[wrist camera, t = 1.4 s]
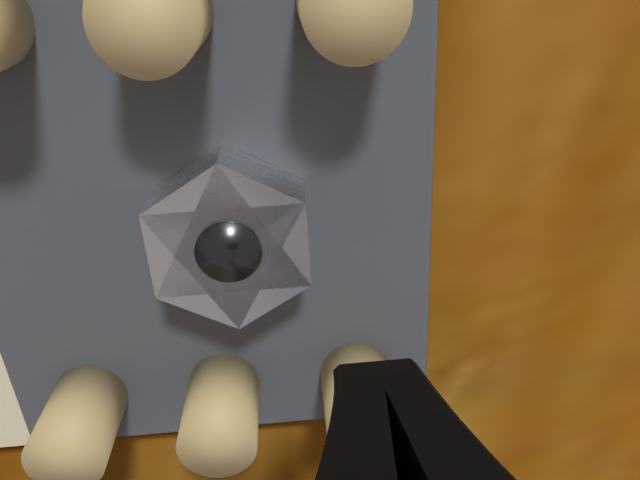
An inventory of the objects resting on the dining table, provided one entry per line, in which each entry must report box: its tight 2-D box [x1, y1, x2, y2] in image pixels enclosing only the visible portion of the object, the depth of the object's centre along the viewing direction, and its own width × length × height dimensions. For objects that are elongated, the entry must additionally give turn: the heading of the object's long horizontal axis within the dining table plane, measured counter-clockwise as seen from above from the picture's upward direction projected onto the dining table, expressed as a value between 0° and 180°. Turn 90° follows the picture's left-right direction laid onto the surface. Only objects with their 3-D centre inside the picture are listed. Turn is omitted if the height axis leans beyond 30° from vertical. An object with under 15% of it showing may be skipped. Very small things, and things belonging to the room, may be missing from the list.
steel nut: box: [139, 141, 311, 329], centre depth 17 cm, size 5×4×2 cm
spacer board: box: [0, 0, 438, 480], centre depth 17 cm, size 16×21×4 cm
